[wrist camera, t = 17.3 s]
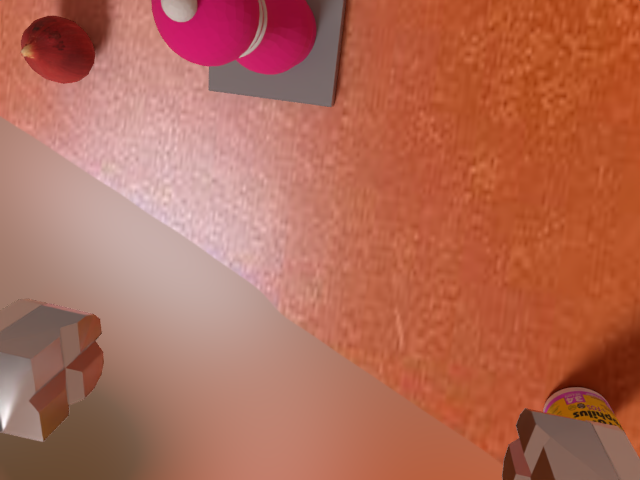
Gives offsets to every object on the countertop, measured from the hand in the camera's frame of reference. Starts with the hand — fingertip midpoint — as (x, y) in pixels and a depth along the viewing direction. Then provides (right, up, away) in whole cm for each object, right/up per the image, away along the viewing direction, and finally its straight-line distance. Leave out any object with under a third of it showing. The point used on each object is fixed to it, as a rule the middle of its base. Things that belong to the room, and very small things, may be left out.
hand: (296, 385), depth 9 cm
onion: (-23, +22, +38) cm, 50 cm away
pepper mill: (-3, +21, +32) cm, 39 cm away
